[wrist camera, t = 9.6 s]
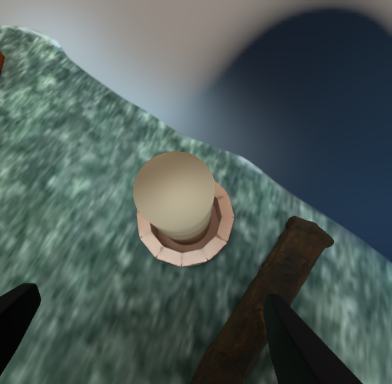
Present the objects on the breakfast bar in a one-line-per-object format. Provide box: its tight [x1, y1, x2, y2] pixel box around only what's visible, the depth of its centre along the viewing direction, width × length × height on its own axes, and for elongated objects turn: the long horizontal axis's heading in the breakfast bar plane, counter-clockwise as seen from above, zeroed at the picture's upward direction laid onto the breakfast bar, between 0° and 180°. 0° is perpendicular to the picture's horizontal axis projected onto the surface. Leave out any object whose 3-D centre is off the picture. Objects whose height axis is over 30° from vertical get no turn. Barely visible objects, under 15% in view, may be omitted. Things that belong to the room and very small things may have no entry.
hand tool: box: [191, 216, 334, 384], centre depth 17 cm, size 19×4×5 cm, turn 139°
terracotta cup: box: [137, 180, 234, 267], centre depth 20 cm, size 8×8×4 cm
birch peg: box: [133, 151, 215, 245], centre depth 16 cm, size 4×4×10 cm
